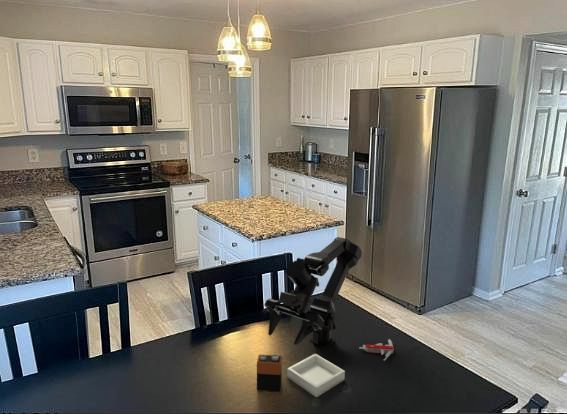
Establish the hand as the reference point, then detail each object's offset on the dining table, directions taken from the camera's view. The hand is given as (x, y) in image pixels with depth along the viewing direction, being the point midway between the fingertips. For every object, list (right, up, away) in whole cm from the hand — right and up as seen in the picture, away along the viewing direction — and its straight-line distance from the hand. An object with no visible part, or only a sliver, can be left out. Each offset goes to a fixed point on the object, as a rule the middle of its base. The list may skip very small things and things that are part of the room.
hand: (281, 340), depth 122 cm
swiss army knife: (+31, -10, +17) cm, 37 cm away
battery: (-4, -13, -2) cm, 14 cm away
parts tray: (+10, -12, +2) cm, 16 cm away
